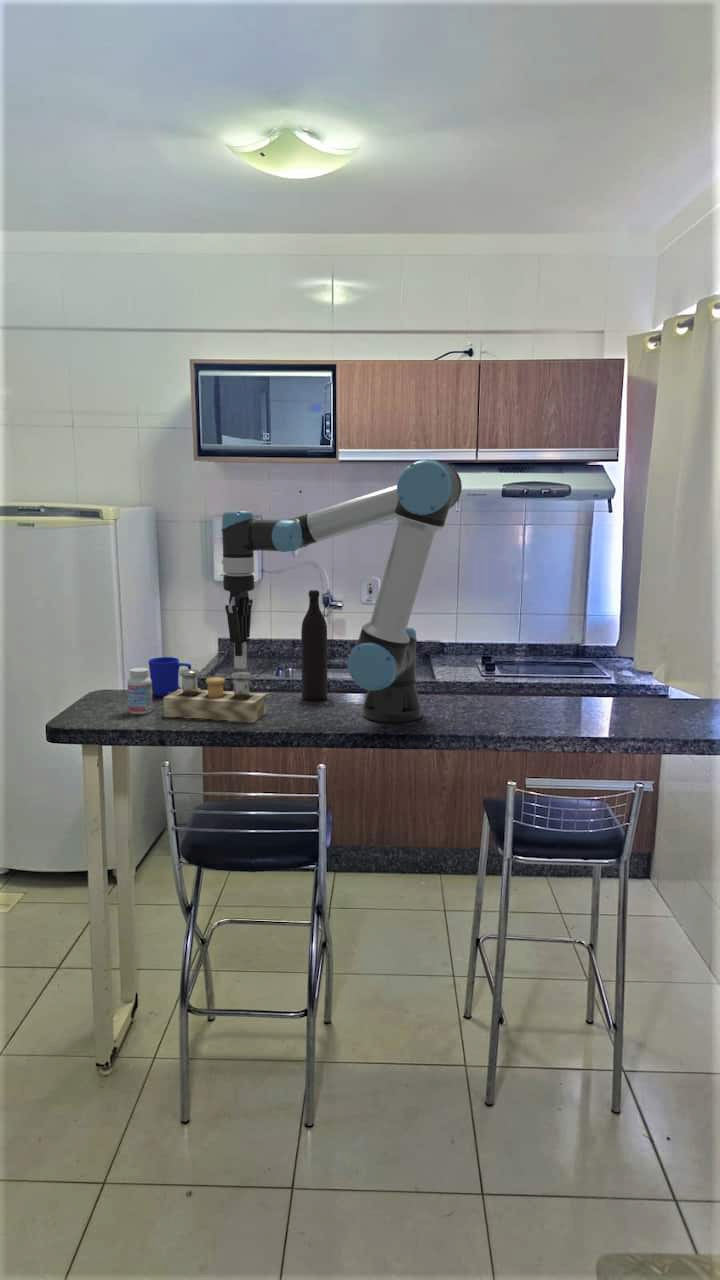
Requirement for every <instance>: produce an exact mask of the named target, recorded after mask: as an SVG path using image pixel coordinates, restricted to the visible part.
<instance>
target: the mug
mask: <svg viewBox="0 0 720 1280" xmlns="http://www.w3.org/2000/svg"><path fill="white" fill-rule="evenodd" d="M148 666H149V667H148V670H149V675H150V676H149V678H150V679H151V681H152V695H154V696H156V697H161V698H164V697H165V696H167V695H169V694H171V693H168V692H175V691H177V690H178V689H180V688H181V687H180V685H179V676H180V667H186V668H187V669H192V664H190V663H185V662H180V659H179V658H177V657H173V656H172V657H171V656H170V657H168V656H163V657H161V656H160V657H155V658H151V659H149V660H148Z"/></svg>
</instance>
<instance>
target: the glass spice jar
mask: <svg viewBox="0 0 720 1280" xmlns="http://www.w3.org/2000/svg"><path fill="white" fill-rule="evenodd" d="M251 675H252V674H251V673H250V672H248V671H237V672H233V673H231V675H230V676H231V679H233V692H234V699H237V700H248V699H249V693H250V678H251V677H252V676H251Z"/></svg>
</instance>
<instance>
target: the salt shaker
mask: <svg viewBox="0 0 720 1280" xmlns="http://www.w3.org/2000/svg"><path fill="white" fill-rule="evenodd" d="M199 675H200V670H199V669H196V668H195V669H194V668H191V669H188V668H187V669H182V670H179V676H181V683H182V684H181V685H182V687H181V688H182V691H183V696H189V697H196V696H198V676H199Z"/></svg>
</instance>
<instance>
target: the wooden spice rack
mask: <svg viewBox="0 0 720 1280" xmlns="http://www.w3.org/2000/svg"><path fill="white" fill-rule="evenodd" d="M162 698H163V700H162V701H163V717H164V718H175V717H190V718H207V719H208V718H209V719H219V720H228V721H227V722H234V721H235V722H236V723H249V724H254V723H256V722H257V721H258V720H259V719H261V718H262V717H263V716H264V715H265V714H267V713H268V693H263V692H249V699H248V700H237V699H234V691H232V690H231V691H229V690H228V691H227V690H223V698H208V689H198V696H196V697H189V696H183V691H182V687H180V689H178V690H177V691H175V692H173V693H171V694H169V695H167V696H165V697H162ZM190 718H189V719H190ZM219 720H218V721H219ZM235 722H234V723H235Z"/></svg>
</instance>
